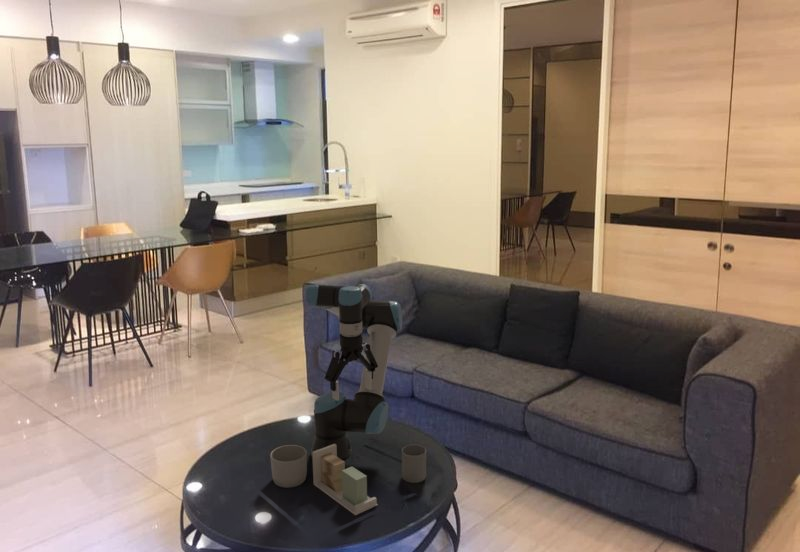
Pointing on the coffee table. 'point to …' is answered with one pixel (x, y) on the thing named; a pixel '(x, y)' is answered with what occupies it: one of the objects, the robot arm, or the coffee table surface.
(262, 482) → the coffee table surface
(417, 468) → the cup
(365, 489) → the green panel
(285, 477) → the planter
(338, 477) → the oak panel
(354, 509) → the track
